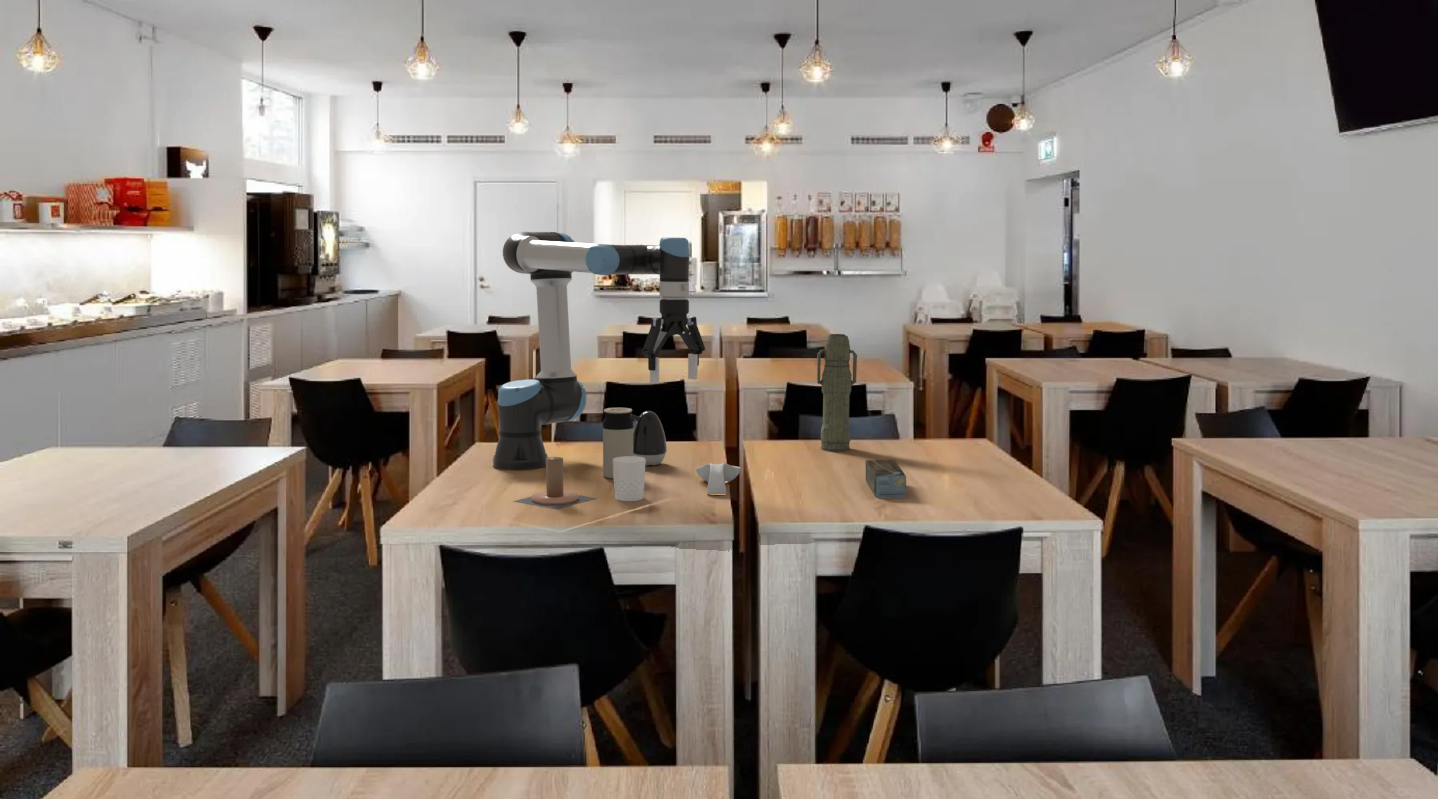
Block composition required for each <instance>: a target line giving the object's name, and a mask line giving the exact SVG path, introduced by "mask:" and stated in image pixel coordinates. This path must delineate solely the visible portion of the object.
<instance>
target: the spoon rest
mask: <svg viewBox="0 0 1438 799" xmlns="http://www.w3.org/2000/svg"><path fill="white" fill-rule="evenodd" d="M695 471H696V473H697V475H698V476H699V477H700V478H701V479H702V480H704V482H706V481H707V482H708V483H707V482H706V483H707V489H706V495H707V494H726V495H727V489H726V488H727V487H726V484H729V483H730V482H732V481H734V479H736V478H738V476H739V474H740V472H741V467H740V466H735V465H730V464H728V463H725V462H722V463H719V464H716V463H711V462H710V463H706V464H704V465H701V466H697V467H695ZM725 481H729V483H728V482H727V483H725Z"/></svg>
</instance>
